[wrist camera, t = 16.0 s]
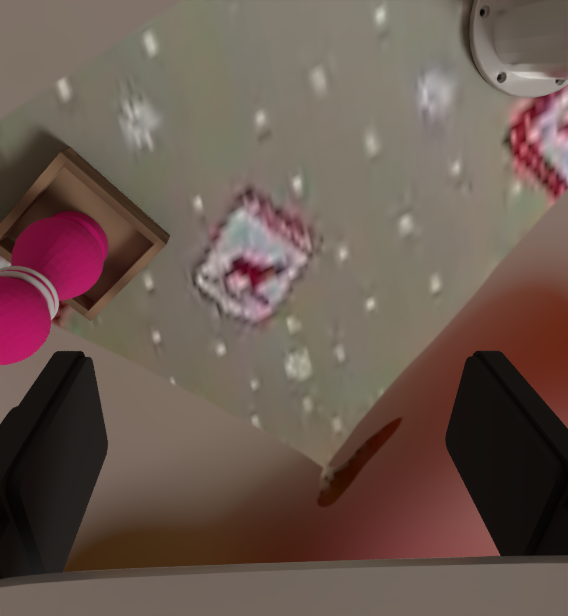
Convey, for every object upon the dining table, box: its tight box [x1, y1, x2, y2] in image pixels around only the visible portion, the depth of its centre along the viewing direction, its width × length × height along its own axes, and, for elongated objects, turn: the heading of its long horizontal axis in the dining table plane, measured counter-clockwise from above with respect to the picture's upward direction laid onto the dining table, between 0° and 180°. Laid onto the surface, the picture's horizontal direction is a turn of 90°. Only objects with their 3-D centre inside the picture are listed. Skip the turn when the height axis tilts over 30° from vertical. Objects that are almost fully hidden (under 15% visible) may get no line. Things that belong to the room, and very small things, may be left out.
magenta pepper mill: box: [0, 211, 109, 365], centre depth 36 cm, size 7×7×20 cm
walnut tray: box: [0, 147, 170, 321], centre depth 44 cm, size 12×12×3 cm
